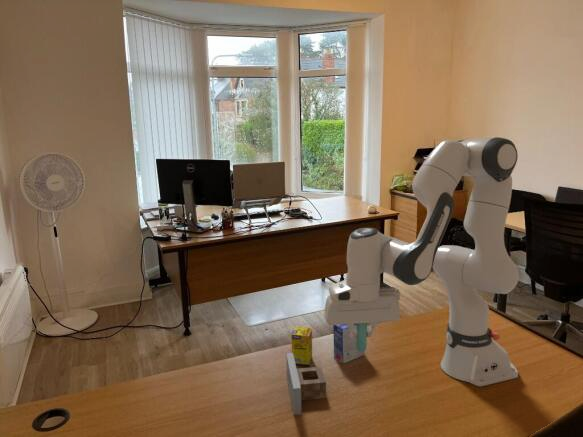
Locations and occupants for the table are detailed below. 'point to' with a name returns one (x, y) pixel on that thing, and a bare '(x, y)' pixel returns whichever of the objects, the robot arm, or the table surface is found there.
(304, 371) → the block
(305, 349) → the supplement box
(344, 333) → the ink cartridge box
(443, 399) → the table surface
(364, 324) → the dowel
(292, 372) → the wall
